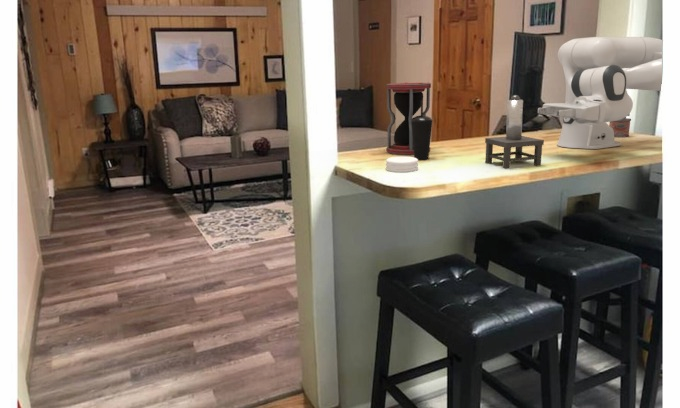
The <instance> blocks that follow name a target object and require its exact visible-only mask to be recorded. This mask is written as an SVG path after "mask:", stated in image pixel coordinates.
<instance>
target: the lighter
mask: <svg viewBox="0 0 680 408" xmlns="http://www.w3.org/2000/svg"><path fill="white" fill-rule="evenodd" d="M630 114H631V113H630ZM630 114H629V115H628V116H627V117H629V118H627V117H625V118H623V119H621V120H618V121H612V122H609V124H608V125H609V126H610V127H612V128H613V130H614V139H615V138H616V139H617V138H624V139H625V138H630V127H631V121H632V119H631V118H630V116H631V115H630Z"/></svg>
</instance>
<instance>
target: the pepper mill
mask: <svg viewBox="0 0 680 408" xmlns="http://www.w3.org/2000/svg"><path fill="white" fill-rule="evenodd" d="M523 108H524V100H523V99H521V97H520V95H517V94H514V95H512V96H511V97H510V99H508V100H507V101H506V131H505V134H506V135H505V137H506V139H507V140H520V139H521V137H522V136H523V135H522V134H523V131H522V130H523V111H524V110H523Z"/></svg>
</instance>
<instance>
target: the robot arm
mask: <svg viewBox="0 0 680 408" xmlns="http://www.w3.org/2000/svg"><path fill="white" fill-rule="evenodd" d="M557 59H558V62H559V64H560V66H561V67H562V69H563V75H564V80H565V96H564V97H565V101H564V102H552V103H551V102H549V103H548V102H547V103H544V104H542V107H538V108H537V114H539V115H545V116H553V117H559V118H560V117H561V118H562V126H561V130H560V131H561V132H560V134H559V138H558V142H557V143H556V146H558V147H562V148H568V149H586V150H587V149H588V150H590V149H591V150H599V149H606V148H612V147H619V146H622V143H621V142H620V141H615V138H614V130H613V128H612V127H610V126H609V124H608V123H610V122H612V121H618V120H621V119H623V118H625V117H626V118H627V117H629V116H628V115H629V114H631V113H632V110H633V105H634V103H633V99H632V97H631V96H630V95H629V93H628V90H642V91H654V92H656V91H657V92H662V91H661V84H662V39H660V38H656V37H648V36H589V37H580V38H579V37H578V38H573V39H570V40H568V41H566V42H564V43H563V44H562V45H560V48H559V49H558V51H557ZM627 89H628V90H627Z"/></svg>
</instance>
